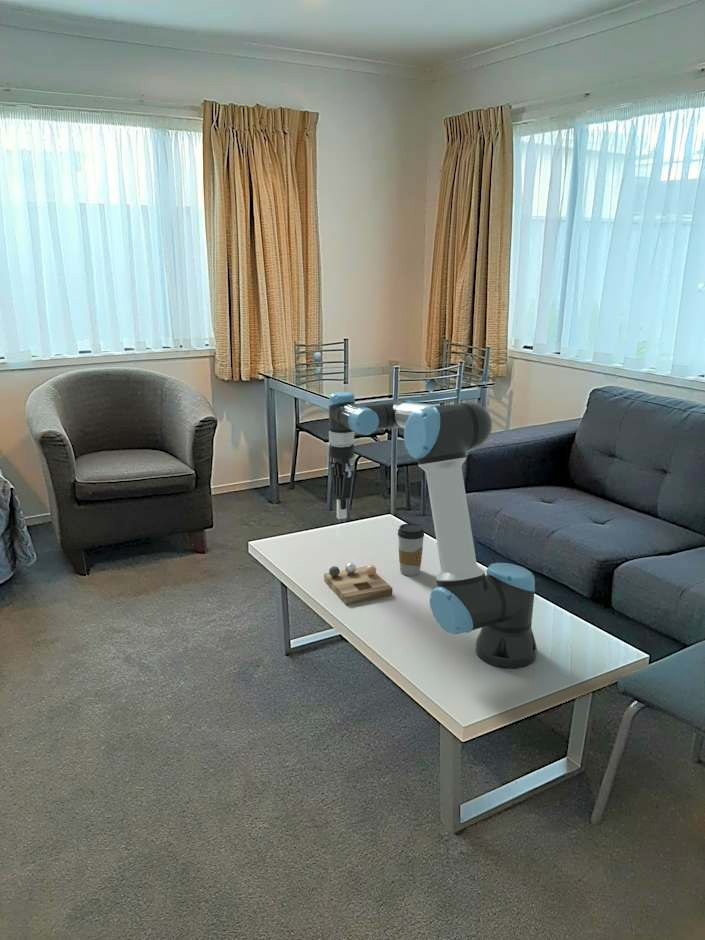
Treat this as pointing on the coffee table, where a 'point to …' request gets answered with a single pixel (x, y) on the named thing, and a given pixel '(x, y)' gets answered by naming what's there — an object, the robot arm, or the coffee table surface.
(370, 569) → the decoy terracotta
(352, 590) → the wooden flat board
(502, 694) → the coffee table surface
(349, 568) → the steel ball
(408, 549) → the coffee cup
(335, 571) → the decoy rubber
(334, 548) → the coffee table surface
